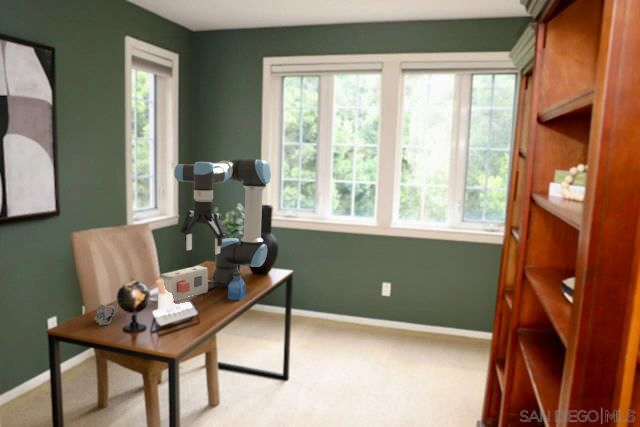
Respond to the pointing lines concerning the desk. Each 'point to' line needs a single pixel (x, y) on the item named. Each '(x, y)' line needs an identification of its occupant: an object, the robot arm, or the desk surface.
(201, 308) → the desk surface
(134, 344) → the desk surface
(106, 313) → the mineral specimen
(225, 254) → the robot arm
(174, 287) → the push button box
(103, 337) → the desk surface
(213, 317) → the desk surface
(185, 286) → the button
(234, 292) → the perfume bottle
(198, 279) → the button
